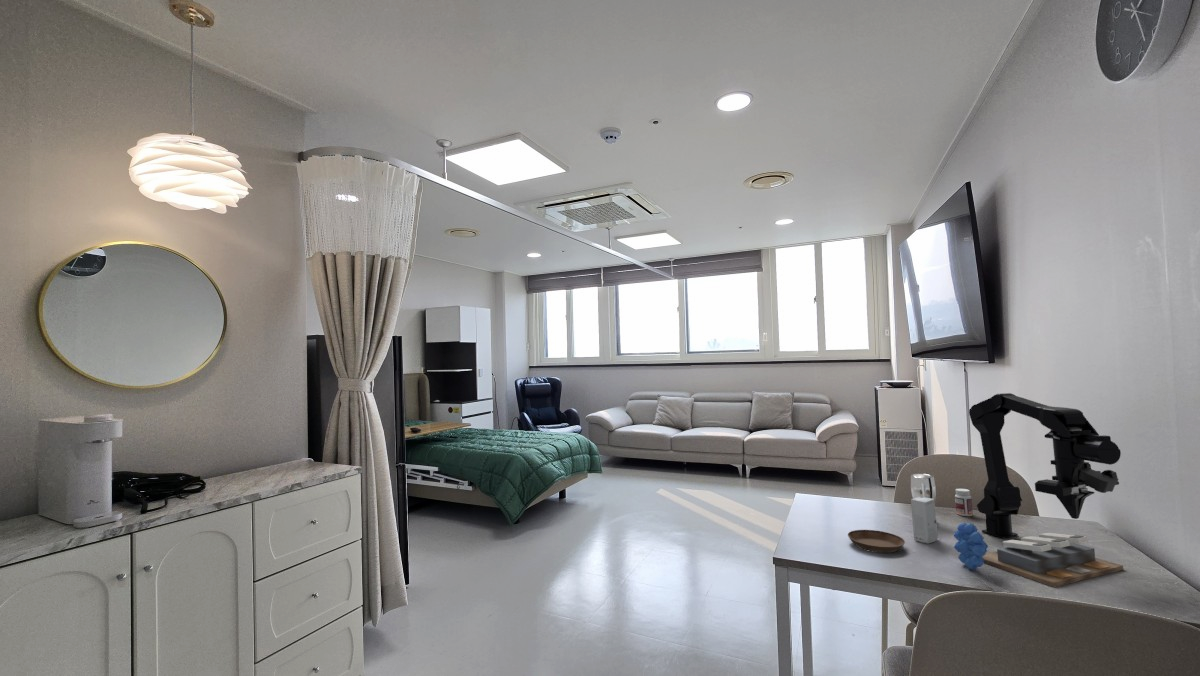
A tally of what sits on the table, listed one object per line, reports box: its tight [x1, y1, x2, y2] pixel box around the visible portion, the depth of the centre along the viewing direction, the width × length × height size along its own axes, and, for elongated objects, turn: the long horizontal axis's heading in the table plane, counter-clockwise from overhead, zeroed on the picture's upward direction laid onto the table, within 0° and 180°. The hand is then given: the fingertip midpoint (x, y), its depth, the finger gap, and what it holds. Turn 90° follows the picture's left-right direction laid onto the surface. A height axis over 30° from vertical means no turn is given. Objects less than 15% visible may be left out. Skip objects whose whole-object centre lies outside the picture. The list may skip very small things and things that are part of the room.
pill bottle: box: [954, 488, 974, 517], centre depth 172 cm, size 5×5×8 cm
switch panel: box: [982, 543, 1124, 588], centre depth 129 cm, size 26×18×5 cm
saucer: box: [847, 529, 906, 554], centre depth 146 cm, size 15×15×3 cm
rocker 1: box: [1002, 539, 1052, 552], centre depth 127 cm, size 4×9×1 cm, turn 18°
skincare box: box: [910, 497, 939, 544], centre depth 149 cm, size 6×4×12 cm
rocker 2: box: [1038, 532, 1089, 545], centre depth 131 cm, size 4×9×1 cm, turn 18°
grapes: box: [953, 522, 989, 571], centre depth 128 cm, size 12×7×12 cm, turn 171°
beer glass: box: [910, 473, 937, 505], centre depth 167 cm, size 7×7×15 cm
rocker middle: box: [1020, 535, 1070, 548], centre depth 129 cm, size 4×9×1 cm, turn 18°
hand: (1075, 518), depth 128 cm, fingers closed
